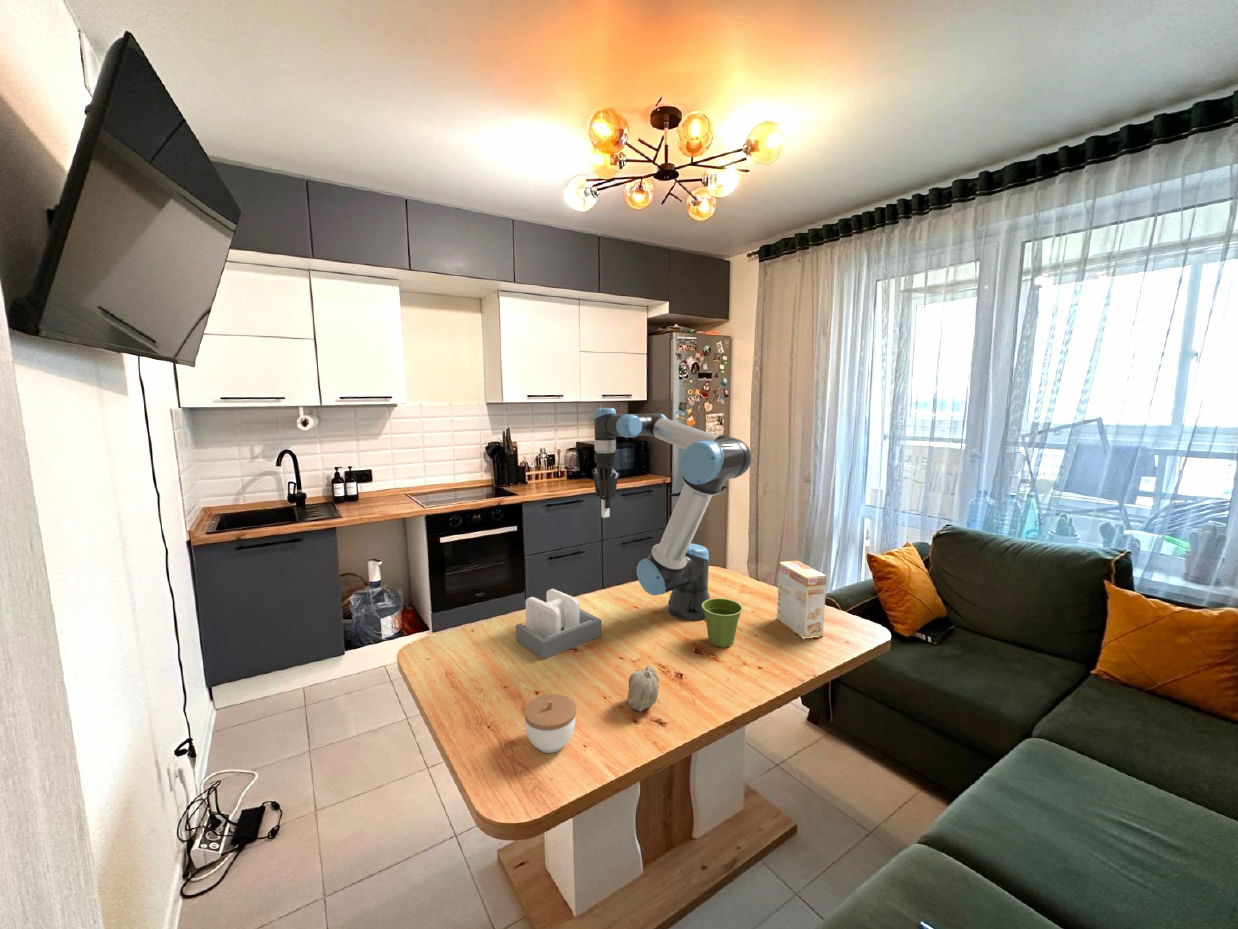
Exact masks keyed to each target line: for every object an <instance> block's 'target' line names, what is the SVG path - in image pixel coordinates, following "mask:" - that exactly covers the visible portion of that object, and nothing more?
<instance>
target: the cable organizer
mask: <svg viewBox="0 0 1238 929" xmlns="http://www.w3.org/2000/svg"><path fill="white" fill-rule="evenodd" d="M545 596H546V601H543V600H542V599H540V598H537V597H534V596H530V597H528V598H526V599H525V627H527V628H529V629H530V630H532V631H533V632H535V633H536V634H538V635H540V636H541V637H543V638H544V639H546V638H547V637H548V636H550V635H553V634H556V633H558V632H561V631H562V629H563V630H566V629H569V628H571V627H574V626H576V625H579V624H580V620H579V609H580V602H579V600H578V599H577V598H576V597H575V596H572V595H570V594H567V593H564V592H562V591H560V590H557V589H555V588H551V589H547V591H546V595H545Z"/></svg>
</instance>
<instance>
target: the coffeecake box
mask: <svg viewBox="0 0 1238 929" xmlns="http://www.w3.org/2000/svg"><path fill="white" fill-rule="evenodd" d="M778 564H779V565H778V583H777V584H778V586H777V587H778V588H777V605H776V606H777V608H776V620H778V619H779V620H780V621H779V620H778V621H779V622H781V624H783V623H784V624H786V625H787V626H788V627H789V628H788V627H787V626H786V625H785V626H786V627H787V628H788V629H790V628H791V629H792V630H793V631H792V630H791V629H790V630H791V631H792V632H794V633H795V632H797V633H798V634H799V635H800V636H803V637H804V638H805V637H811V636H823V637H824V625H825V624H824V622H825V608H826V605H825V604H826V589H827V574H824V573H823V572H821V571H818V570H816V569H815V568H812V567H810V566H809V565H806V564H805V563H803V562H801V561H799V560H788V561H787V560H786V561H780V562H779V563H778ZM784 624H783V625H784ZM799 635H798V636H799ZM800 636H799V637H800Z"/></svg>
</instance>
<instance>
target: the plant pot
mask: <svg viewBox="0 0 1238 929" xmlns="http://www.w3.org/2000/svg"><path fill="white" fill-rule="evenodd" d="M702 608H703V609H704V614H705V617H706V619H705V622H706V628H707V629H706V630H707V636H708V642H709V644H711V645H712V646H714V645H715V646H714V647H720V648H728V647H727V646H729V647H731V646H733V644H734V643H735V642H734V641H735V637H736V632H737V627H738V622H739V619H740V616H741V613H742V612H743V610H744V607H743V605H742V604H740V603H739V602H737V601H735V600H733V599H728V598H724V597H723V598H721V597H713V598H710V599H708V600H706V601H704V602H703V603H702ZM730 645H731V646H730Z"/></svg>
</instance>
